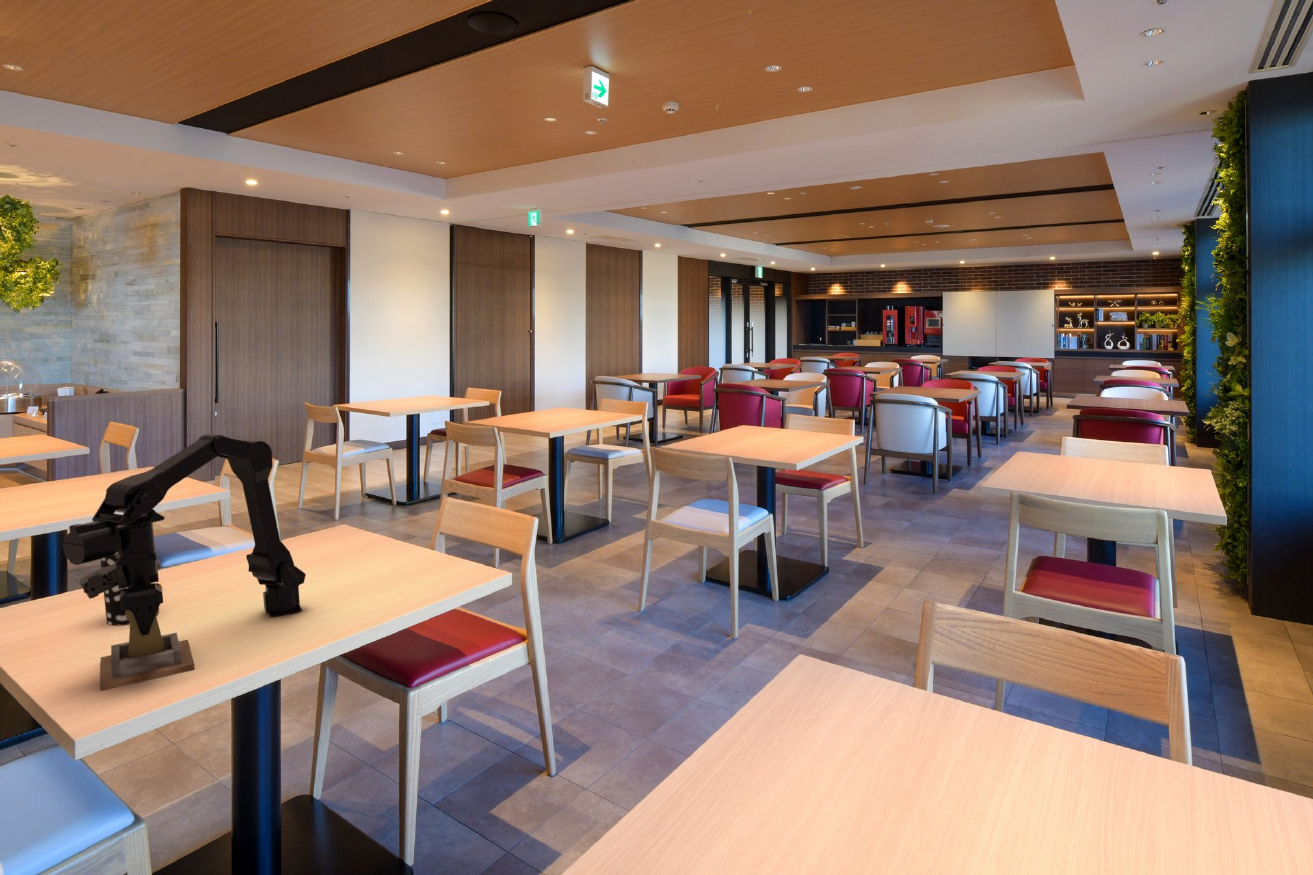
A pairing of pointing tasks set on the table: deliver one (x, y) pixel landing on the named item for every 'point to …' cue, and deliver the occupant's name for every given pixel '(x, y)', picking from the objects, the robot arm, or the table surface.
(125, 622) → the white-spotted black cylinder
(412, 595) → the table surface
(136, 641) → the cork
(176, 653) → the shaker holder
